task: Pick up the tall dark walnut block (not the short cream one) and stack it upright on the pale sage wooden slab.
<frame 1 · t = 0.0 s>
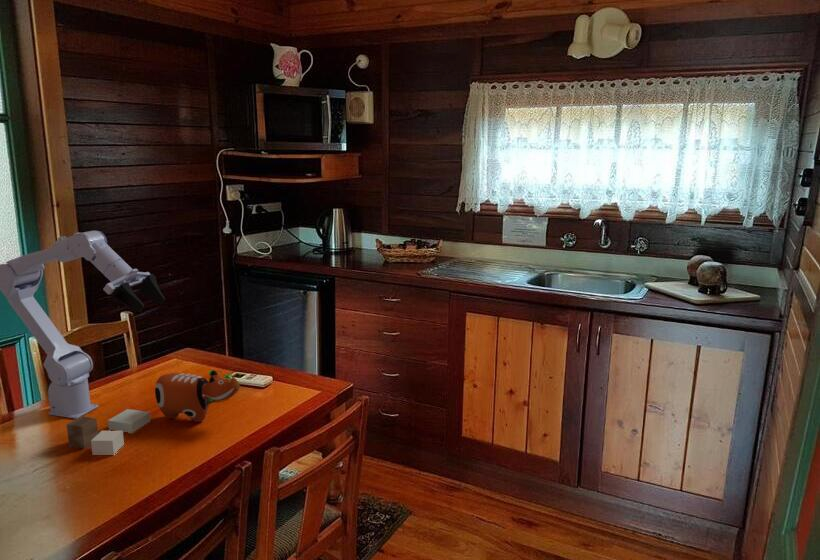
hand: (152, 305, 145), 32 cm above the table, tool tilted 50°, fingers open, 7 cm apart
cream block: (108, 450, 139), on the table
toy: (200, 422, 154), on the table
sage slab: (130, 426, 151), on the table
walnut block: (84, 443, 142), on the table
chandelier: (213, 394, 172), on the table
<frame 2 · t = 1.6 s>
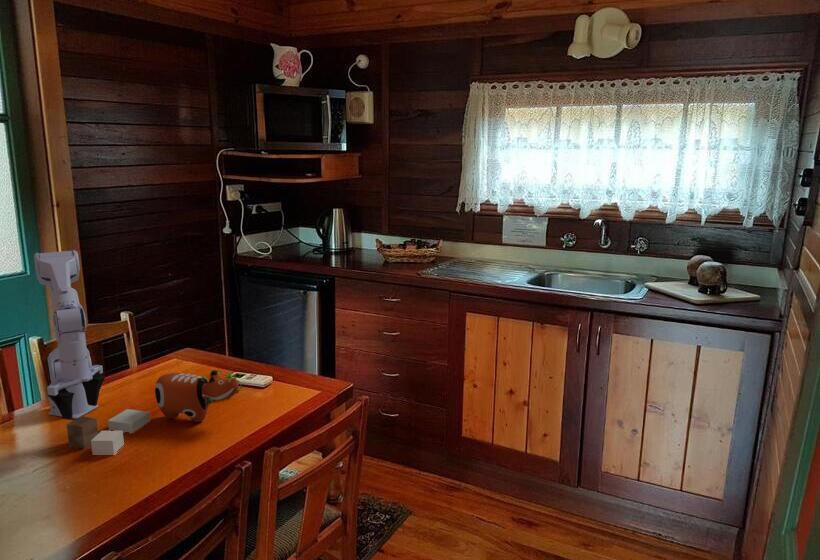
hand: (80, 411, 140), 8 cm above the table, tool pointing down, fingers open, 7 cm apart
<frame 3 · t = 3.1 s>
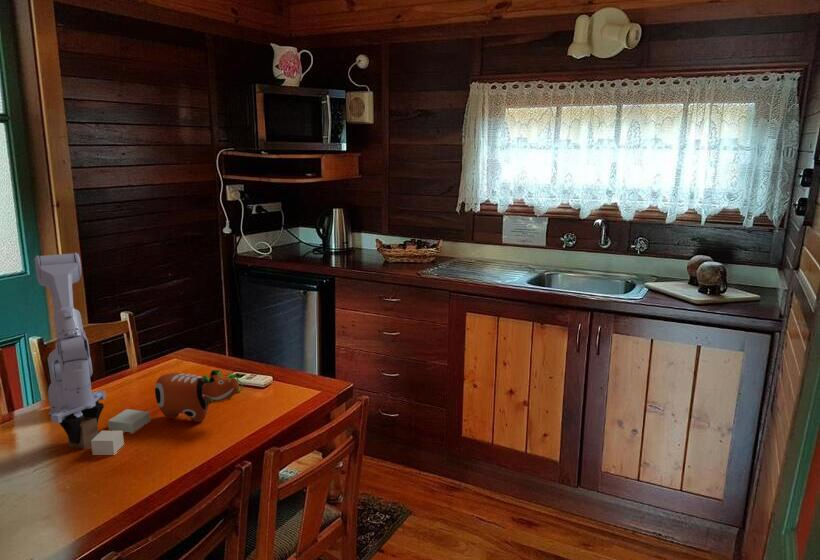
hand: (83, 437, 141), 2 cm above the table, tool pointing down, fingers closed on walnut block, 4 cm apart
walnut block: (84, 443, 142), on the table, touching gripper
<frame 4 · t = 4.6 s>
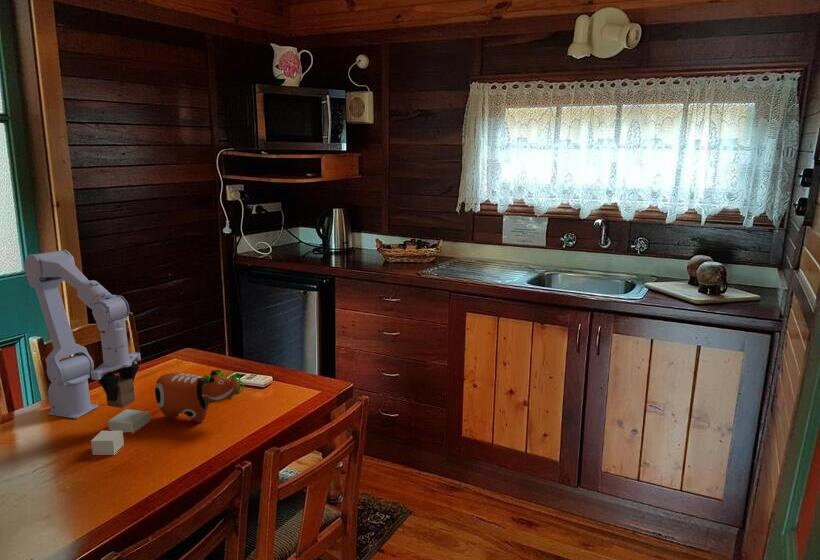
hand: (120, 396, 148), 9 cm above the table, tool pointing down, fingers closed on walnut block, 4 cm apart
walnut block: (121, 403, 148), point 7 cm above the table, touching gripper
when the fingers open (6 cm above the table, at t = 6.2 s): walnut block drops 1 cm, point 3 cm above the table.
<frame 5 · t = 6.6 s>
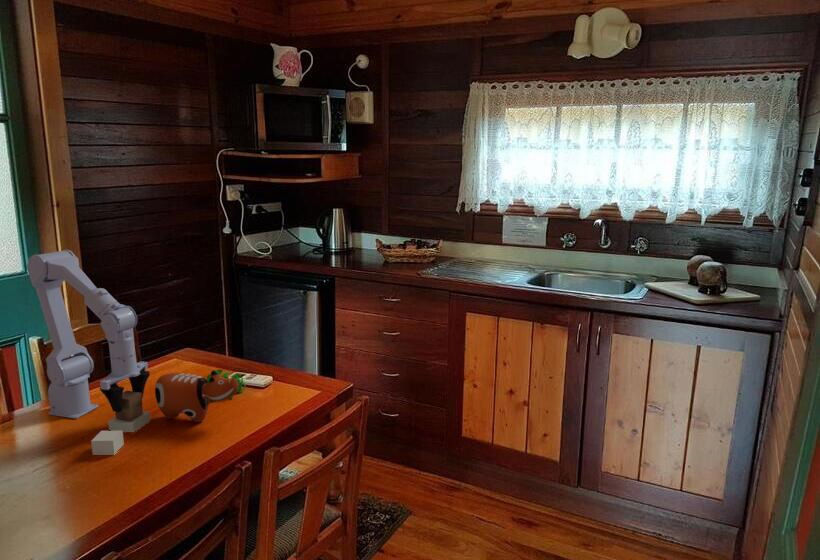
hand: (128, 404, 150), 6 cm above the table, tool pointing down, fingers open, 7 cm apart
walnut block: (129, 416, 150), point 3 cm above the table
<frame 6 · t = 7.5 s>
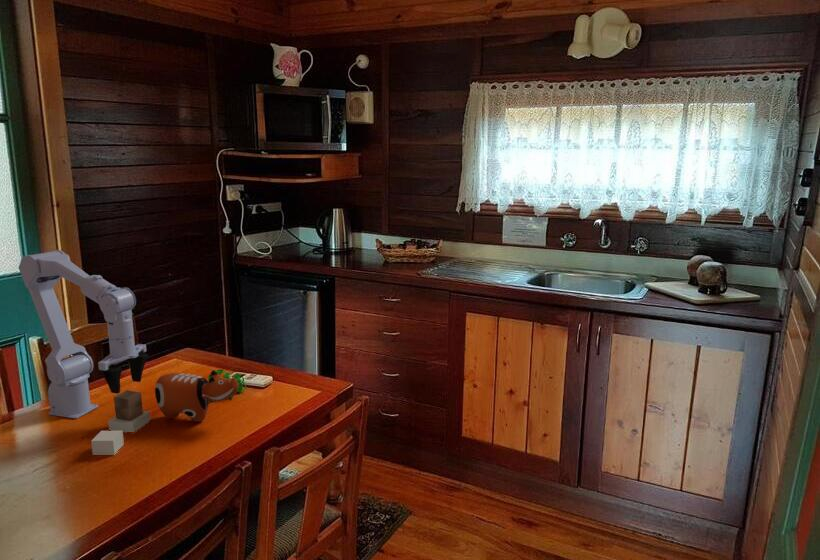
hand: (126, 386, 150), 10 cm above the table, tool pointing down, fingers open, 7 cm apart
sage slab: (130, 427, 151), on the table, touching walnut block
walnut block: (129, 416, 151), point 3 cm above the table, touching sage slab
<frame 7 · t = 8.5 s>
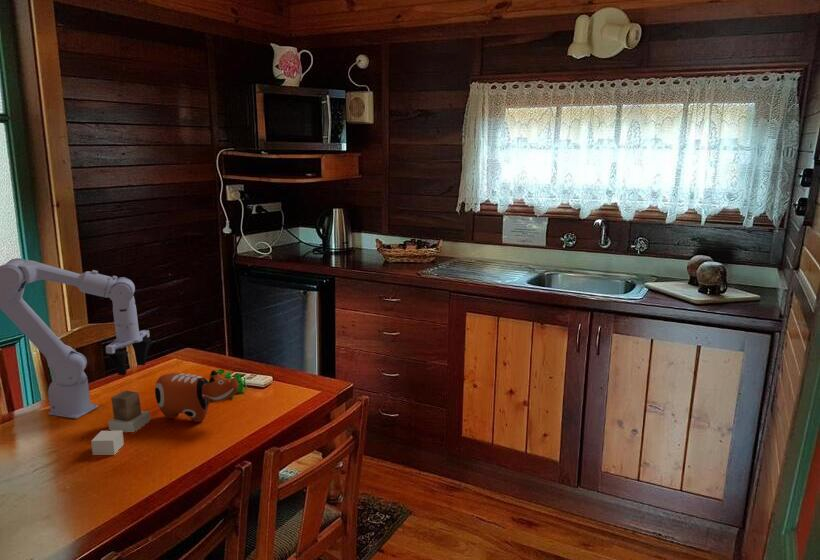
hand: (132, 369, 161), 10 cm above the table, tool pointing down, fingers open, 7 cm apart
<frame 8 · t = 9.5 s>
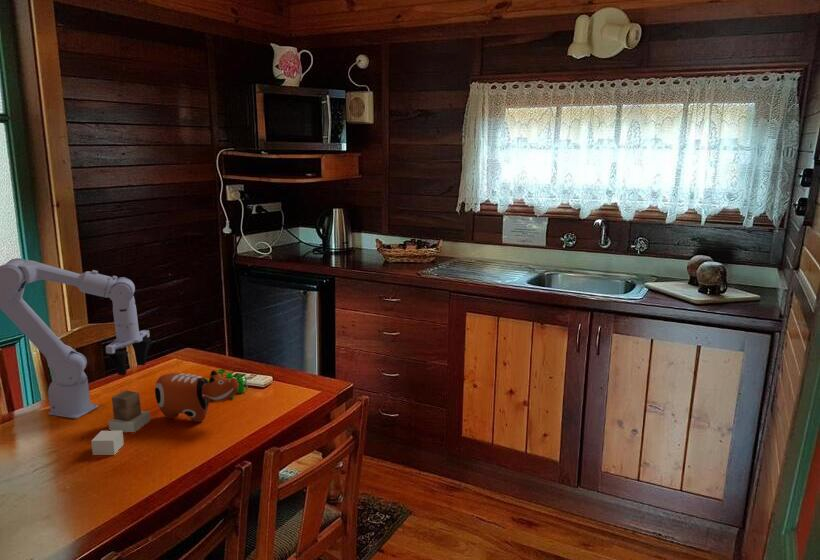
hand: (132, 369, 161), 10 cm above the table, tool pointing down, fingers open, 7 cm apart
sage slab: (130, 427, 151), on the table
walnut block: (127, 416, 150), point 3 cm above the table
at the end: walnut block 0.4 cm off-centre on the sage slab, point 3.0 cm above the sage slab's base; walnut block tilted 1°; the gripper is holding nothing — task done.
